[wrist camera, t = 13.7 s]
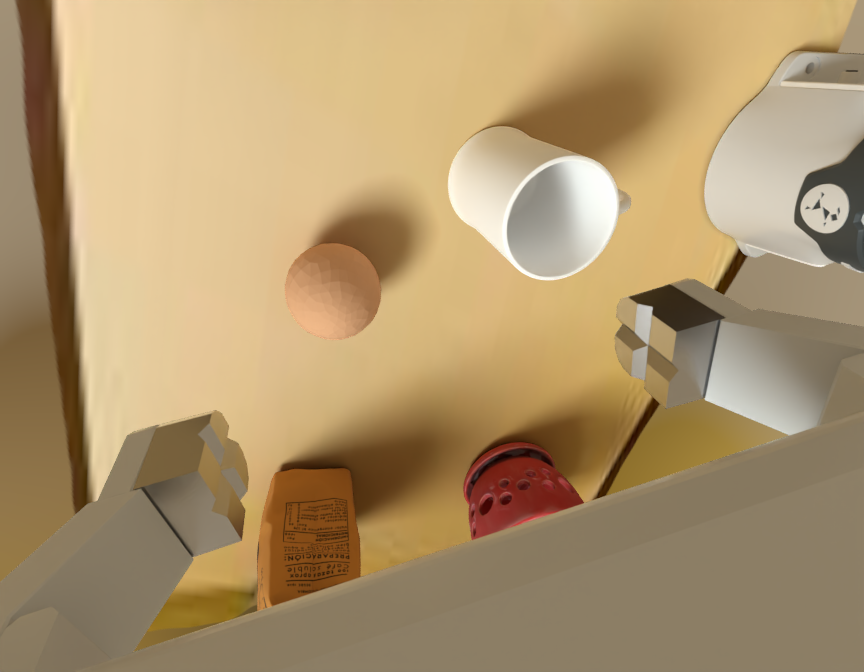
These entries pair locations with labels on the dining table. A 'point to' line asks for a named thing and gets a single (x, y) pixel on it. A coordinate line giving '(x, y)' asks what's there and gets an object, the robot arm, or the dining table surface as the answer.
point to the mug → (535, 201)
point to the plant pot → (514, 488)
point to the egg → (332, 291)
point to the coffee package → (307, 535)
